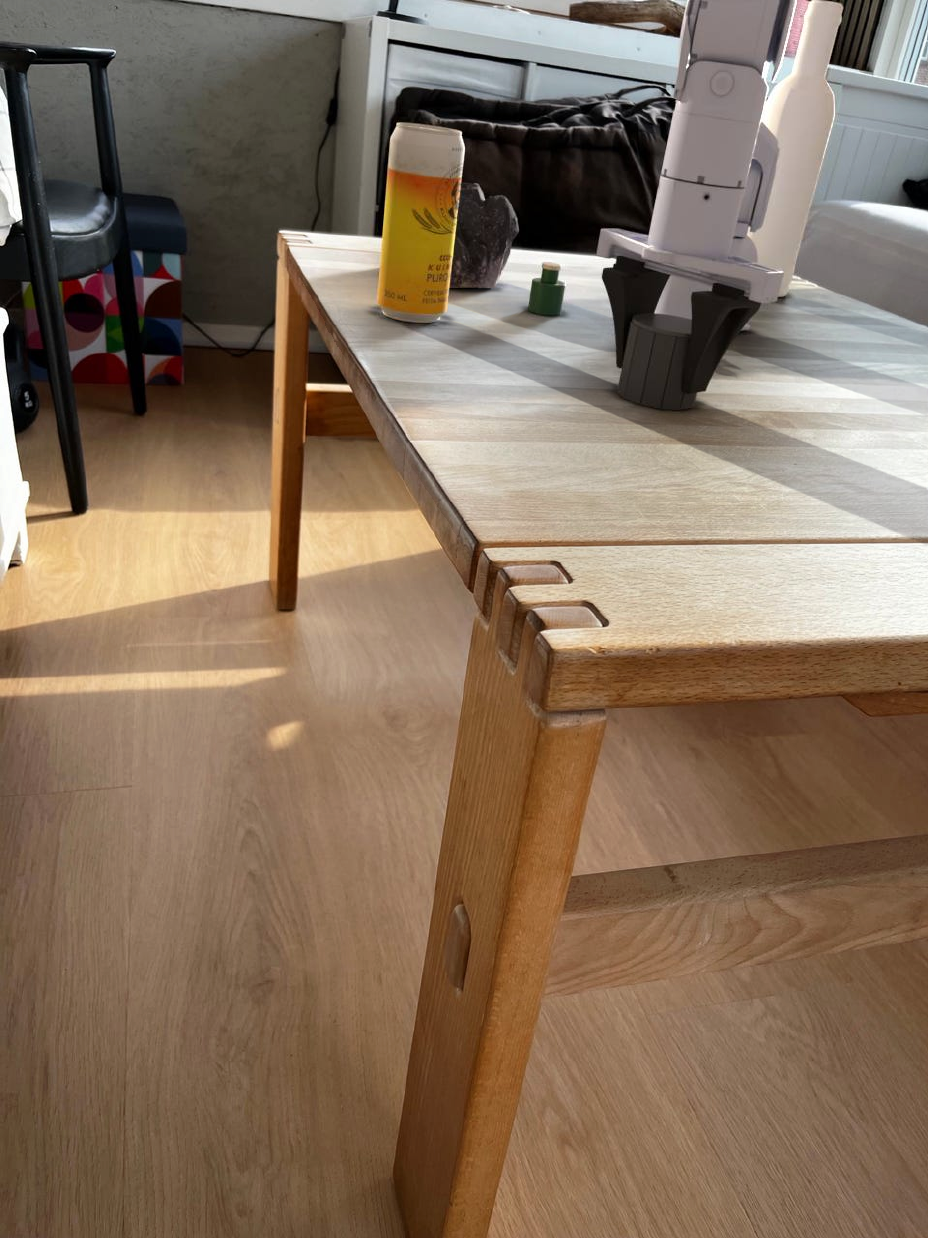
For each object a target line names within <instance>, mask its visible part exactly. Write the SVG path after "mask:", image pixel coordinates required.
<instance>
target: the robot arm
mask: <svg viewBox="0 0 928 1238" xmlns="http://www.w3.org/2000/svg"><path fill="white" fill-rule="evenodd" d="M796 6H797V0H686V3H685V8H684V13H683V17H682V23H681V29H680V35H679V41H678V58H677V59H678V62H677V72H676V78H675V82H674V83H675V84H674V89H673V94H672V95H673V96H672V99H675V107H674V110H673V113H672V118H671V121H670V122H671V123H670V127H669V133H668V138H667V143H666V148H665V152H664V158H663V163H662V167H661V171H660V176H659V183H658V186H657V191H656V198H655V202H654V207H653V211H652V215H651V216H652V217H651V222H650V226H649V232H648V234H643V233H639V232H634V231H629V230H625V229H621V228H601V229H600V233H599V238H598V244H597V248H596V254H595V255H596V257H599V258H603V259H614V260H615V263H613V264H612V266H611V267H603V268H602V273H601V279H602V282H603V285H604V287H605V290H606V291H605V292H606V294H607V297H608V300H609V304H610V305H609V306H610V309H611V315H612V321H613V330H614V340H615V342H614V343H615V362H616V364H615V365H616V368H617V369H620V370H621V369H622V364H623V359H624V354H625V349H626V344H627V339H628V334H629V329H630V324H631V321H632V319H633V316H634V315H636V314H642V313H656V314H666V315H672V316H678V317H683V318H687V319H691V320H692V327H691V339H690V347H689V352H688V357H687V361H686V366H685V370H684V375H683V382H682V391H683V392H685V393H688V394H694V393H697V394H699V393H704V392H706V391H707V389H708V387H709V383H710V382H711V380H712V378H713V376H714V374H715V372H716V370H717V368H718V366H719V365H720V362H721V361H722V359H723V357H724V355H725V354H726V352H727V351H728V349H729V348H730V346H731V345H732V343H733V341H734V340H735V339H736V337H737V336H738V335H739V333H740V332H742V331H749V330H750V329H751V325H750V324H749V323H748V322H749V321H750V320H751V319H752V318H753V317H754V316H755V315H756V314H757V312H758V311H759V310H760V308H761V306H762V303H773V302H774V303H775V302H777V301H778V298H779V297H778V294H779V290H780V287H781V283H782V279H783V275H784V272H782V271H778V270H774V269H771V268H768V267H765V266H762V265H759V264H758V255H757V250H756V246H755V244H754V242H753V241H752V239H751V238H750V237H749V236H747V232H748V228H749V227H751V228H750V232H756V231H757V230H758V229H760V228H761V227H762V225H763V222H764V218H765V214H766V210H767V206H768V202H769V198H770V194H771V190H772V186H773V182H774V178H775V173H776V169H777V167H776V164H777V160H778V155H779V151H780V149H779V147H778V140H777V138H776V137H775V136H774V135H773V133H772V132H771V131H770V130H769V129H768V128H767V126H766V125H765V124H764V123H763V122H762V121H761V119H762V115H763V111H764V106H765V104H766V102H767V99H768V94H769V90H770V86H769V84H768V83H767V82H766V78H767V74H768V70H769V66H770V64H771V63H772V66H773V72H772V77H771V83H772V84H773V83H774V82H775V80H776V78H777V75H778V73H779V71H780V70H781V67H782V64H783V59H784V55H785V52H786V47H787V43H788V39H789V35H790V30H791V26H792V22H793V18H794V13H795V9H796ZM752 157H753V158H752Z"/></svg>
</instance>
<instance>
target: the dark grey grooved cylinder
mask: <svg viewBox="0 0 928 1238" xmlns="http://www.w3.org/2000/svg"><path fill="white" fill-rule="evenodd" d="M691 327H692V320H691V319H687V318H683V317H678V316H672V315H666V314H656V313H642V314H636V315H634V316H633V319H632V321H631V324H630V329H629V334H628V339H627V344H626V349H625V354H624V359H623V364H622V369H620V375H619V380H618V384H617V390H616V392H617V394H619V395H620V397H622V398H623V399H625V400H627V401H629V402H632V403H635V404H637V405H640V406H645V407H649V408H654V409H658V410H669V411H670V410H671V411H684V410H688V409H692V408H694V405H695V403H696V398H697V397H698V396H697V394H698V393H694V394H688V393H685V392H683V391H682V382H683V375H684V370H685V366H686V361H687V357H688V352H689V347H690V339H691Z"/></svg>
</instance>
